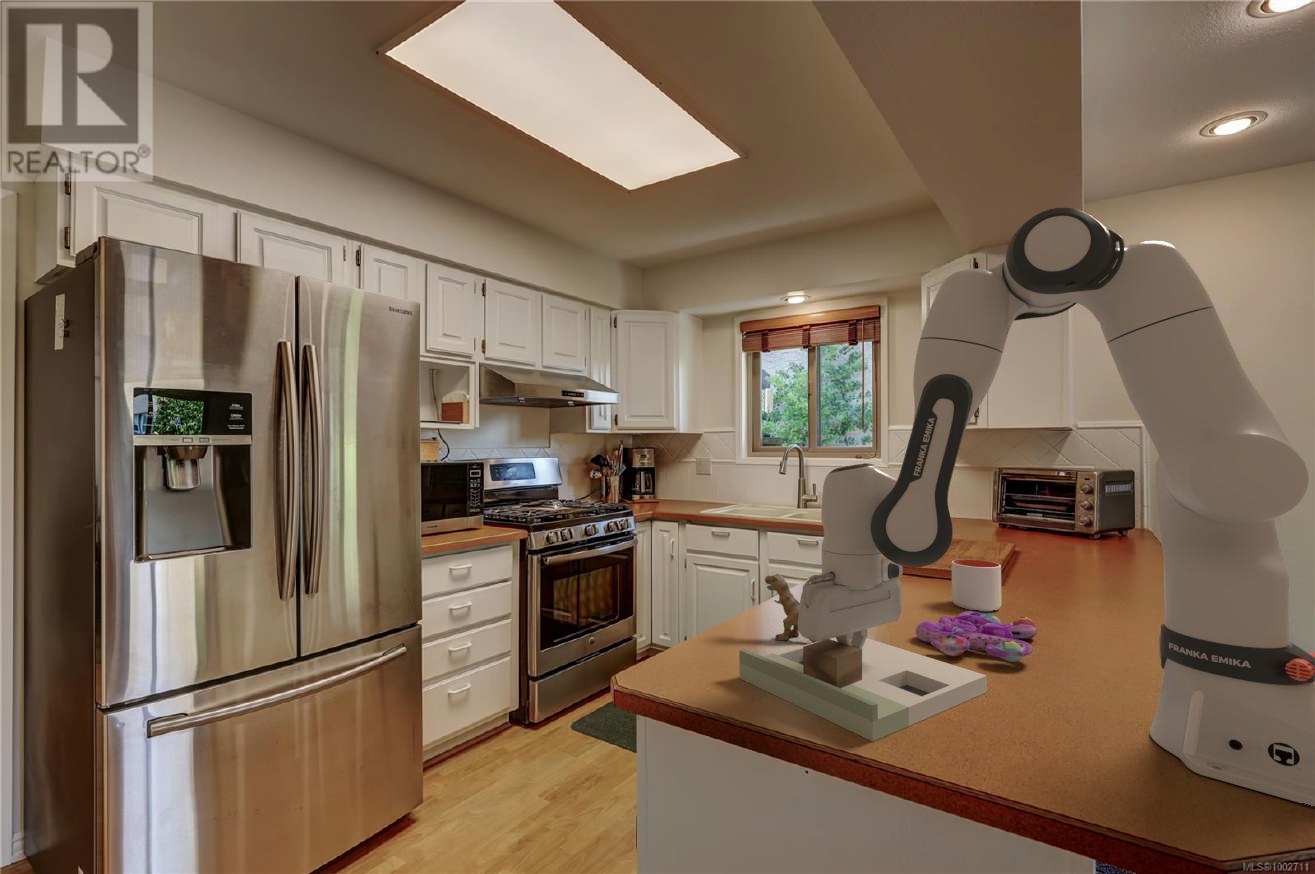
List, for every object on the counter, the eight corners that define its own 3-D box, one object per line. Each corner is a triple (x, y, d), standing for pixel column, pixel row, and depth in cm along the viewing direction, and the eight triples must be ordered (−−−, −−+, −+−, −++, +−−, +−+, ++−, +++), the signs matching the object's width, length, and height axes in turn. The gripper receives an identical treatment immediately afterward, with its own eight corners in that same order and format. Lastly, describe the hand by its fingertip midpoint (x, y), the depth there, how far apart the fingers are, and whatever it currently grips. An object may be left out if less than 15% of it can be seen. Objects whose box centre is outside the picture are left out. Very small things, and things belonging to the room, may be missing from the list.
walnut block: (862, 679, 89) (861, 649, 90) (836, 689, 86) (836, 657, 86) (828, 667, 94) (828, 638, 94) (803, 676, 91) (803, 646, 91)
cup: (1002, 605, 140) (1001, 561, 140) (1000, 615, 132) (999, 569, 132) (954, 599, 145) (954, 557, 146) (949, 609, 137) (949, 564, 137)
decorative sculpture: (896, 653, 110) (1019, 676, 96) (894, 626, 110) (1017, 645, 96) (954, 624, 130) (1064, 639, 116) (953, 601, 130) (1062, 614, 116)
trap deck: (986, 692, 91) (986, 662, 91) (872, 741, 76) (872, 705, 76) (850, 646, 112) (849, 622, 112) (739, 678, 97) (739, 650, 97)
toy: (746, 602, 123) (774, 565, 121) (818, 661, 118) (849, 623, 116) (737, 613, 117) (767, 574, 114) (813, 676, 112) (846, 636, 109)
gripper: (820, 581, 85) (821, 680, 85) (909, 565, 96) (909, 652, 96) (787, 573, 90) (788, 666, 90) (875, 558, 102) (875, 641, 101)
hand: (851, 659), depth 93 cm, fingers closed
